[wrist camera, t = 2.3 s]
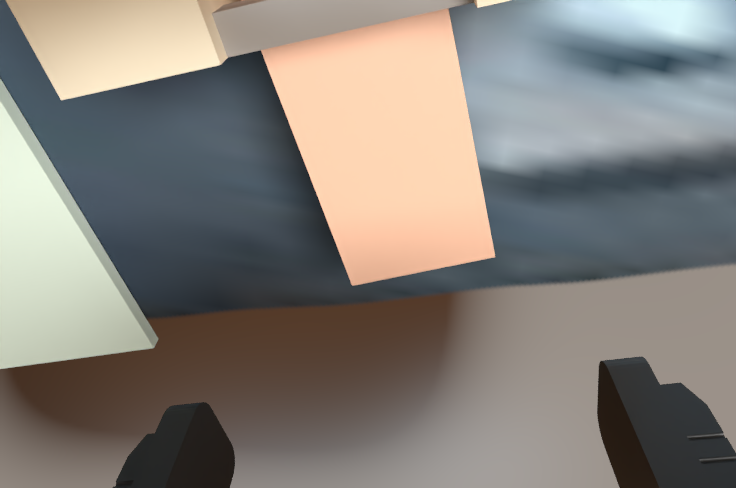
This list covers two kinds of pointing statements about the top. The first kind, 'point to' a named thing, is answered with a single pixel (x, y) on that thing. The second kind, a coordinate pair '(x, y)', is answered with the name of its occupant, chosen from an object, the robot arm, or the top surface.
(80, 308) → the mat
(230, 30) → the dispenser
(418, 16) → the peach rectangular slab
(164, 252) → the top surface
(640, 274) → the top surface
